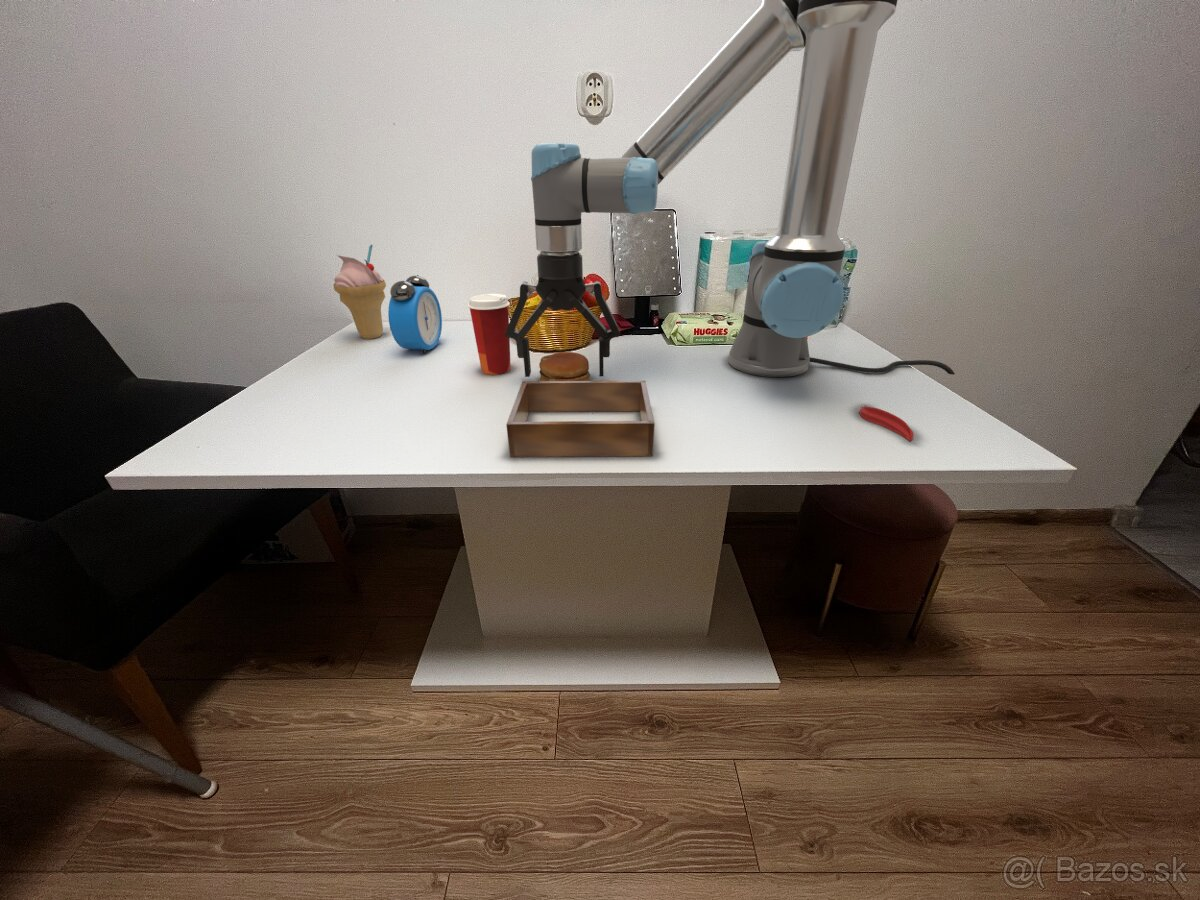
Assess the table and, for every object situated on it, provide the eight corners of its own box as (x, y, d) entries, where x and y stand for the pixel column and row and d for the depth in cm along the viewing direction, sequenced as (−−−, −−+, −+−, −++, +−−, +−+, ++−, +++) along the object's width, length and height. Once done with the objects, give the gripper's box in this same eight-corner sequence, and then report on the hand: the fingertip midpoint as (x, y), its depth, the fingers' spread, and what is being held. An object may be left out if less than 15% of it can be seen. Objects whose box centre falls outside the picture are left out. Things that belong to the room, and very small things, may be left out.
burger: (596, 385, 92) (596, 361, 90) (546, 392, 90) (545, 367, 88) (581, 368, 101) (580, 345, 98) (534, 374, 98) (532, 351, 96)
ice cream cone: (371, 328, 128) (352, 242, 118) (405, 332, 124) (388, 244, 114) (336, 339, 119) (312, 248, 109) (371, 345, 115) (350, 251, 106)
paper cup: (522, 365, 102) (516, 294, 96) (504, 378, 96) (496, 303, 89) (488, 361, 105) (479, 291, 98) (468, 374, 98) (457, 300, 92)
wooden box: (644, 409, 83) (645, 380, 81) (652, 456, 70) (654, 423, 67) (524, 409, 83) (522, 381, 81) (509, 457, 70) (506, 424, 67)
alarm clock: (422, 358, 107) (408, 284, 99) (394, 357, 107) (378, 284, 100) (446, 340, 118) (435, 272, 111) (421, 339, 119) (409, 272, 111)
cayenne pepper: (851, 407, 83) (854, 396, 82) (879, 407, 83) (882, 396, 82) (887, 441, 73) (891, 429, 72) (919, 441, 73) (924, 429, 72)
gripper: (633, 248, 87) (631, 366, 98) (488, 249, 87) (501, 367, 98) (636, 255, 81) (633, 381, 91) (479, 256, 81) (493, 381, 91)
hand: (564, 374), depth 94 cm, fingers open, 13 cm apart
